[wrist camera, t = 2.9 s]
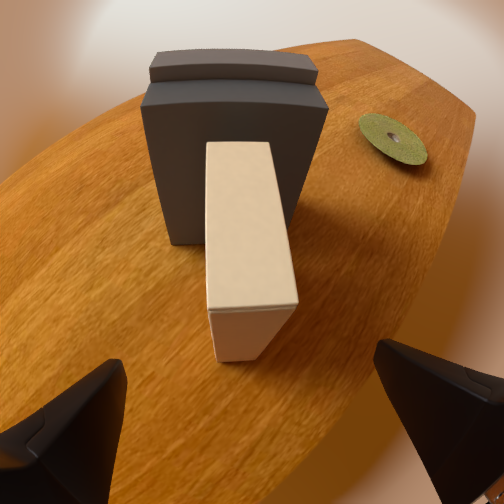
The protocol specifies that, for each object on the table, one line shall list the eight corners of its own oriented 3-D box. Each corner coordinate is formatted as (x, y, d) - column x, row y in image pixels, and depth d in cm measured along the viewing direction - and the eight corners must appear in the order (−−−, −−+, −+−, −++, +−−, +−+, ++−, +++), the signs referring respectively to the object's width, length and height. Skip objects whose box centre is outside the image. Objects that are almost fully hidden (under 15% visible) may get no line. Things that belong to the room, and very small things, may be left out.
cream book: (256, 360, 20) (300, 306, 9) (216, 362, 20) (206, 311, 9) (247, 264, 24) (269, 141, 13) (211, 265, 24) (206, 141, 13)
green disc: (423, 147, 37) (428, 138, 36) (419, 187, 32) (426, 177, 31) (363, 113, 39) (366, 104, 38) (346, 145, 34) (350, 134, 32)
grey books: (283, 241, 26) (334, 93, 13) (171, 245, 25) (137, 90, 12) (274, 192, 29) (307, 54, 16) (175, 194, 27) (157, 52, 14)
